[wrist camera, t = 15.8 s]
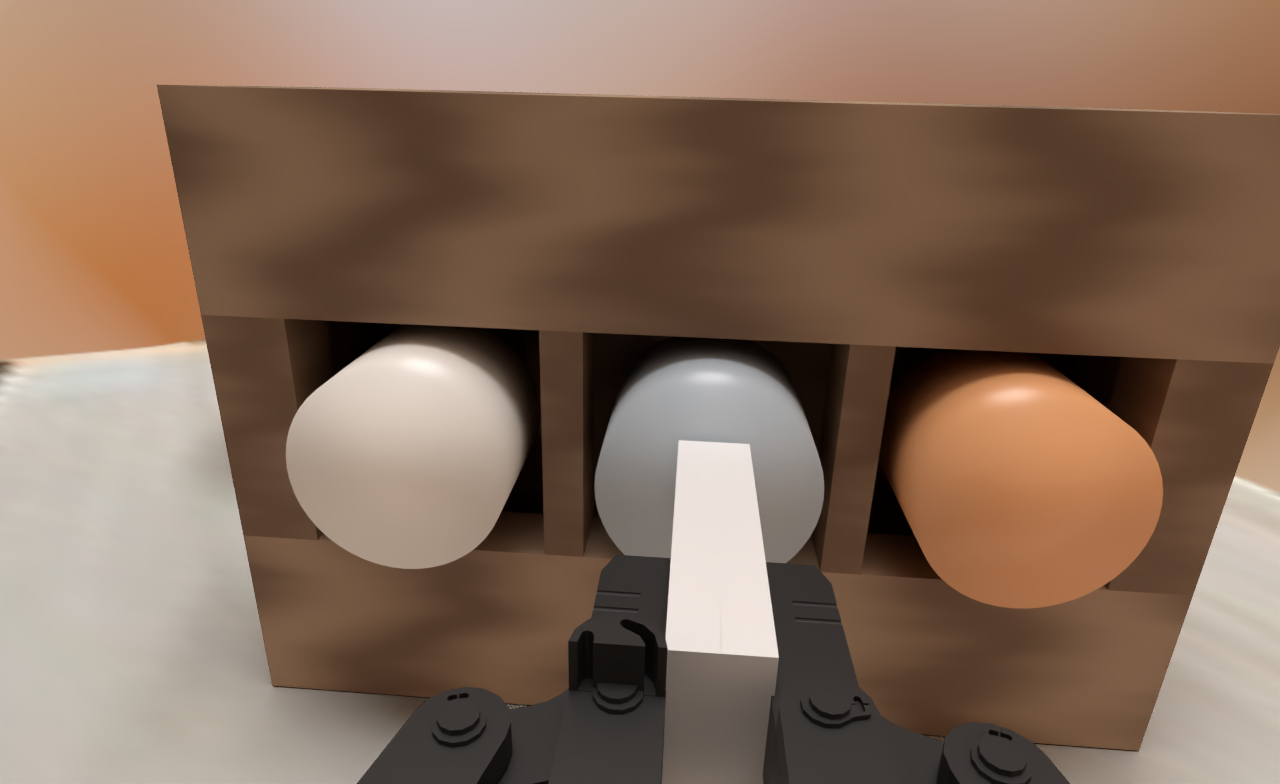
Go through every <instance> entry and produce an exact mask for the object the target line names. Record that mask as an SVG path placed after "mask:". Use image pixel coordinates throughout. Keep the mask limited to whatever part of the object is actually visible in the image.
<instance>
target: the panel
mask: <svg viewBox="0 0 1280 784" xmlns="http://www.w3.org/2000/svg"><path fill="white" fill-rule="evenodd" d="M157 88H158V94H159V99H160V104H161V109H162V114H163V120H164V125H165V130H166V135H167V139H168V146H169V151H170V155H171V161H172V166H173V171H174V177H175V182H176V187H177V192H178V197H179V203H180V208H181V213H182V218H183V223H184V229H185V233H186V239H187V244H188V249H189V255H190V260H191V265H192V270H193V275H194V280H195V286H196V291H197V296H198V301H199V306H200V312H201V317H202V322H203V327H204V332H205V338H206V343H207V348H208V353H209V358H210V364H211V369H212V374H213V379H214V384H215V390H216V395H217V400H218V405H219V410H220V416H221V421H222V426H223V431H224V436H225V441H226V447H227V452H228V457H229V462H230V467H231V473H232V478H233V483H234V488H235V493H236V499H237V504H238V509H239V514H240V519H241V525H242V530H243V535H244V540H245V545H246V551H247V556H248V561H249V566H250V571H251V576H252V582H253V587H254V592H255V597H256V602H257V608H258V613H259V618H260V623H261V628H262V634H263V639H264V644H265V649H266V654H267V660H268V665H269V670H270V675H271V680H272V686H284V687H298V688H311V689H324V690H338V691H351V692H364V693H378V694H391V695H404V696H418V697H433V696H435V695H438V694H440V693H442V692H444V691H446V690H451V689H456V688H462V687H472V688H482V689H486V690H488V691H490V692H492V693H494V694H496V695H499V696H500V697H501V699H502V700H503V701H504V702H505V703H511V704H524V705H535V704H539V703H543V702H546V701H548V700H550V699H552V698H554V697H556V696H559V695H560V694H561V693H563V692H564V691H565V690H566V689H568V688H569V667H568V641H569V639H570V637H571V635H572V633H573V631H574V630H575V628H577V627H578V626H579V625H581V624H582V623H584V622H585V621H586V620H588V619H591V617H592V612H593V609H594V602H595V598H596V594H597V588H598V583H599V579H600V574H601V570H602V569H603V568H604V567H605V566H606V565H607V564H608V563H609V562H610V561H611V560H612V559H613V558H614V557H615V555H624V554H623V553H622V551H621V550H620V549H619V548H618V547H617V546H616V545H615V543H614V542H613V541H612V539H611V538H610V536H609V535H608V533H607V531H606V529H605V527H604V526H603V524H602V521H601V518H600V515H599V513H598V509H597V504H596V500H595V487H594V485H595V473H596V468H597V464H598V460H599V456H600V452H601V449H602V445H603V442H604V438H605V434H606V431H607V427H608V424H609V420H610V417H611V413H612V409H613V406H614V402H615V399H616V395H617V392H618V389H619V387H620V384H621V382H622V380H623V378H624V376H625V374H626V373H627V371H628V370H629V368H630V367H631V366H632V365H633V363H634V362H635V361H636V360H637V359H638V358H639V357H640V356H641V355H642V354H643V353H644V352H646V351H647V350H648V349H650V348H651V347H652V346H654V345H656V344H657V343H659V342H661V341H663V340H665V339H667V338H670V337H672V336H675V337H697V338H719V339H741V340H752V341H754V342H756V343H758V344H760V345H761V346H763V347H764V348H766V349H767V350H768V351H770V352H771V353H772V354H773V355H774V356H775V357H776V358H777V359H778V360H779V361H780V362H781V363H782V364H783V366H784V367H785V368H786V369H787V371H788V373H789V374H790V376H791V378H792V379H793V381H794V384H795V386H796V389H797V391H798V394H799V397H800V400H801V403H802V406H803V409H804V412H805V416H806V419H807V422H808V425H809V428H810V431H811V434H812V437H813V440H814V443H815V446H816V449H817V452H818V455H819V458H820V462H821V466H822V470H823V476H824V500H823V505H822V510H821V514H820V517H819V519H818V522H817V525H816V527H815V529H814V530H813V532H812V534H811V536H810V538H809V539H808V540H807V542H806V543H805V544H804V546H803V547H802V548H801V549H800V550H799V551H798V553H797V554H796V555H795V556H794V557H793V558H792V559H790V560H789V561H788V562H787V564H803V565H815V566H816V567H817V568H818V569H819V570H820V571H821V572H822V574H823V575H824V576H825V577H826V578H827V579H828V580H829V581H830V582H831V584H832V587H833V591H834V595H835V598H836V602H837V608H838V610H839V614H840V617H841V624H842V625H843V629H844V632H845V636H846V640H847V644H848V647H849V651H850V655H851V659H852V663H853V666H854V670H855V674H856V678H857V681H858V685H859V688H861V689H862V690H863V691H864V692H865V693H866V694H867V695H868V696H870V697H871V698H872V700H873V702H874V704H875V706H876V707H877V709H878V711H879V713H880V715H881V716H882V717H884V718H886V719H887V720H889V721H890V722H892V723H894V724H895V725H897V726H900V727H902V728H904V729H907V730H909V731H912V732H915V733H918V734H923V735H937V736H947V735H948V734H949V733H950V732H951V731H952V729H953V728H954V727H957V726H960V725H963V724H966V723H970V722H973V723H991V724H994V725H997V726H1000V727H1004V728H1007V729H1010V730H1012V731H1014V732H1016V733H1018V734H1019V735H1021V736H1023V737H1024V738H1026V739H1028V740H1030V741H1031V742H1033V743H1043V744H1056V745H1070V746H1083V747H1096V748H1110V749H1123V750H1136V751H1139V748H1140V746H1141V743H1142V740H1143V737H1144V734H1145V731H1146V728H1147V725H1148V723H1149V720H1150V717H1151V714H1152V711H1153V708H1154V705H1155V703H1156V700H1157V697H1158V694H1159V691H1160V688H1161V685H1162V682H1163V680H1164V677H1165V674H1166V671H1167V668H1168V665H1169V662H1170V659H1171V657H1172V654H1173V651H1174V648H1175V645H1176V642H1177V639H1178V637H1179V634H1180V631H1181V628H1182V625H1183V622H1184V619H1185V616H1186V614H1187V611H1188V608H1189V605H1190V602H1191V599H1192V596H1193V594H1194V591H1195V588H1196V585H1197V582H1198V579H1199V576H1200V573H1201V571H1202V568H1203V565H1204V562H1205V559H1206V556H1207V553H1208V550H1209V548H1210V545H1211V542H1212V539H1213V536H1214V533H1215V530H1216V528H1217V525H1218V522H1219V519H1220V516H1221V513H1222V510H1223V507H1224V505H1225V502H1226V499H1227V496H1228V493H1229V490H1230V487H1231V485H1232V482H1233V479H1234V476H1235V473H1236V470H1237V467H1238V464H1239V462H1240V459H1241V456H1242V453H1243V450H1244V447H1245V444H1246V441H1247V439H1248V436H1249V433H1250V430H1251V427H1252V424H1253V421H1254V418H1255V416H1256V413H1257V410H1258V407H1259V404H1260V401H1261V398H1262V396H1263V393H1264V390H1265V387H1266V384H1267V381H1268V378H1269V375H1270V372H1271V370H1272V367H1273V364H1274V361H1275V358H1276V355H1277V353H1278V350H1279V347H1280V114H1257V113H1227V112H1201V111H1171V110H1144V109H1116V108H1083V107H1046V106H1042V107H1041V106H1006V105H971V104H970V105H969V104H934V103H933V104H932V103H896V102H859V101H858V102H856V101H820V100H784V99H746V98H745V99H744V98H709V97H671V96H670V97H669V96H634V95H593V94H559V93H522V92H519V93H518V92H484V91H445V90H410V89H409V90H408V89H372V88H370V89H369V88H321V87H320V88H318V87H260V86H199V85H157ZM405 324H412V325H434V326H456V327H478V328H500V329H512V330H513V331H514V332H515V333H516V334H517V335H518V336H519V338H520V339H521V341H522V343H523V345H524V348H525V351H526V367H527V369H528V371H529V373H530V374H531V376H532V378H533V381H534V384H535V386H536V389H537V393H538V397H539V404H540V423H539V428H538V433H537V436H536V439H535V442H534V444H533V446H532V448H531V450H530V453H529V455H528V457H527V459H526V461H525V463H524V465H523V467H522V469H521V471H520V474H519V476H518V478H517V480H516V482H515V484H514V486H513V488H512V490H511V492H510V495H509V497H508V499H507V501H506V503H505V505H504V507H503V509H502V511H501V513H500V516H499V518H498V520H497V521H496V523H495V525H494V527H493V529H492V530H491V532H490V533H489V534H488V536H487V537H486V538H485V539H484V540H483V541H482V542H481V543H480V544H479V545H478V546H477V547H476V548H475V549H473V550H472V551H471V552H469V553H468V554H466V555H465V556H463V557H461V558H459V559H457V560H455V561H452V562H450V563H447V564H444V565H440V566H436V567H431V568H422V569H402V568H394V567H388V566H384V565H380V564H376V563H373V562H370V561H368V560H365V559H362V558H360V557H358V556H356V555H354V554H352V553H350V552H348V551H347V550H345V549H343V548H342V547H340V546H339V545H337V544H336V543H335V542H333V541H332V540H331V539H329V538H328V537H327V536H326V535H325V534H324V533H323V532H322V531H321V530H320V529H318V528H317V526H316V525H315V524H314V523H313V522H312V521H311V519H310V518H309V517H308V516H307V514H306V513H305V511H304V510H303V508H302V507H301V505H300V503H299V501H298V499H297V498H296V496H295V494H294V491H293V488H292V486H291V483H290V480H289V475H288V471H287V465H286V442H287V437H288V432H289V429H290V426H291V423H292V421H293V418H294V416H295V415H296V413H297V411H298V409H299V408H300V406H301V405H302V404H303V403H304V401H305V400H306V399H307V398H308V397H309V396H310V395H311V394H312V393H313V392H314V391H315V390H317V389H318V388H319V387H320V386H322V385H323V384H324V383H325V382H327V381H328V380H329V379H331V378H332V377H333V376H335V375H336V374H337V373H338V372H340V371H341V370H342V369H344V368H345V367H346V366H348V365H349V364H350V363H351V362H353V361H354V360H355V359H357V358H358V357H359V356H361V355H362V354H363V353H364V352H366V351H367V350H368V349H370V348H371V347H372V346H374V345H375V344H376V343H377V342H379V341H380V340H381V339H383V338H384V337H385V336H386V335H388V334H389V333H391V332H392V331H394V330H395V329H397V328H399V327H401V326H403V325H405ZM909 347H917V348H939V349H961V350H983V351H1005V352H1027V353H1034V354H1036V355H1038V356H1039V357H1041V358H1043V359H1044V360H1045V361H1047V362H1048V363H1049V364H1050V365H1052V366H1053V367H1054V368H1056V369H1057V370H1058V371H1059V372H1061V373H1062V374H1063V375H1065V376H1066V377H1067V378H1069V379H1070V380H1071V381H1072V382H1074V383H1075V384H1076V385H1078V386H1079V387H1080V388H1081V389H1083V390H1084V391H1085V392H1087V393H1088V394H1089V395H1091V396H1092V397H1093V398H1094V399H1096V400H1097V401H1098V402H1100V403H1101V404H1102V405H1103V406H1105V407H1106V408H1107V409H1109V410H1110V411H1111V412H1112V413H1114V414H1115V415H1116V416H1118V417H1119V418H1120V419H1122V420H1123V421H1124V422H1125V423H1127V424H1128V425H1129V426H1131V427H1132V428H1133V429H1134V430H1136V431H1137V432H1138V433H1139V435H1140V436H1141V437H1142V438H1143V439H1144V440H1145V441H1146V442H1147V444H1148V445H1149V447H1150V448H1151V450H1152V451H1153V453H1154V455H1155V458H1156V460H1157V462H1158V464H1159V468H1160V472H1161V476H1162V483H1163V500H1162V508H1161V512H1160V516H1159V520H1158V522H1157V525H1156V527H1155V530H1154V532H1153V534H1152V536H1151V537H1150V539H1149V541H1148V543H1147V545H1146V546H1145V547H1144V549H1143V550H1142V551H1141V553H1140V554H1139V555H1138V557H1137V558H1136V559H1135V560H1134V561H1133V562H1132V563H1131V564H1130V565H1129V566H1128V567H1127V568H1126V569H1125V570H1124V571H1123V572H1121V573H1120V574H1119V575H1118V576H1117V577H1115V578H1114V579H1112V580H1111V581H1110V582H1108V583H1107V584H1105V585H1104V586H1102V587H1100V588H1098V589H1096V590H1095V591H1093V592H1091V593H1089V594H1087V595H1084V596H1082V597H1079V598H1077V599H1075V600H1071V601H1068V602H1065V603H1061V604H1057V605H1052V606H1047V607H1040V608H1029V609H1022V608H1006V607H998V606H994V605H989V604H985V603H982V602H979V601H977V600H974V599H971V598H969V597H967V596H965V595H963V594H961V593H959V592H958V591H957V590H955V589H954V588H952V587H951V586H949V585H948V584H947V583H946V582H945V581H944V580H942V579H941V578H940V577H939V576H938V575H937V573H936V572H935V571H934V570H933V568H932V567H931V566H930V564H929V562H928V561H927V559H926V557H925V556H924V554H923V551H922V549H921V547H920V545H919V543H918V541H917V539H916V537H915V535H914V533H913V531H912V529H911V527H910V525H909V523H908V521H907V519H906V516H905V514H904V512H903V510H902V508H901V506H900V504H899V502H898V500H897V498H896V496H895V494H894V492H893V490H892V488H891V486H890V483H889V481H888V479H887V477H886V475H885V473H884V471H883V468H882V466H881V463H880V460H879V453H880V446H881V440H882V433H883V427H884V420H885V414H886V408H887V401H888V398H889V397H890V395H891V394H892V391H891V387H890V382H891V375H892V369H893V365H894V363H895V361H896V360H897V358H898V357H899V356H900V355H901V354H902V353H903V352H904V351H905V350H906V349H908V348H909Z"/></svg>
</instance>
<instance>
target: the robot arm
mask: <svg viewBox="0 0 1280 784" xmlns="http://www.w3.org/2000/svg"><path fill="white" fill-rule="evenodd" d="M568 667H569V688H568V689H566V690H565V691H564V692H563V693H561V694H560V695H559V696H556V697H554V698H552V699H550V700H548V701H546V702H543V703H539V704H535V705H532V706H526V707H521V708H516V709H510V710H509V707H508V706H507V705H506V703H505V702H504V701H503V700H502V699H501V697H500V696H499V695H496V694H494V693H492V692H490V691H488V690H486V689H482V688H472V687H462V688H456V689H451V690H446V691H444V692H442V693H440V694H438V695H435V696H433V697H431V698H429V699H428V700H427V701H426V702H424V703H423V704H422V705H421V706H420V707H419V708H418V709H417V710H416V711H415V712H414V713H413V714H412V715H411V717H410V718H409V719H408V720H407V722H406V723H405V724H404V725H403V727H402V728H401V729H400V730H399V732H398V733H397V734H396V735H395V737H394V738H393V739H392V740H391V742H390V743H389V744H388V745H387V747H386V748H385V749H384V750H383V752H382V753H381V754H380V755H379V757H378V758H377V759H376V760H375V762H374V763H373V764H372V765H371V767H370V768H369V769H368V770H367V772H366V773H365V774H364V775H363V777H362V778H361V779H360V780H359V782H358V783H357V784H1070V783H1069V782H1068V781H1067V780H1066V779H1065V777H1064V776H1063V775H1062V774H1061V772H1060V771H1059V770H1058V769H1057V767H1056V766H1055V765H1054V764H1053V762H1052V761H1051V760H1050V759H1049V758H1048V757H1047V756H1046V755H1045V754H1044V753H1043V752H1042V751H1041V750H1040V749H1039V748H1038V747H1037V746H1036V745H1035V744H1034V743H1033V742H1031V741H1030V740H1028V739H1026V738H1024V737H1023V736H1021V735H1019V734H1018V733H1016V732H1014V731H1012V730H1010V729H1007V728H1004V727H1000V726H997V725H994V724H991V723H973V722H970V723H966V724H963V725H960V726H957V727H954V728H953V729H952V731H951V732H950V733H949V734H948V735H947V736H946V737H945V740H944V742H942V741H939V740H936V739H933V738H930V737H927V736H924V735H921V734H918V733H915V732H912V731H909V730H907V729H904V728H902V727H900V726H897V725H895V724H894V723H892V722H890V721H889V720H887V719H886V718H884V717H882V716H881V715H880V713H879V711H878V709H877V707H876V706H875V704H874V702H873V700H872V698H871V697H870V696H868V695H867V694H866V693H865V692H864V691H863V690H862V689H861V688H859V685H858V681H857V678H856V674H855V670H854V666H853V663H852V659H851V655H850V651H849V647H848V644H847V640H846V636H845V632H844V629H843V625H842V624H841V617H840V614H839V610H838V608H837V602H836V598H835V595H834V591H833V587H832V584H831V582H830V581H829V580H828V579H827V578H826V577H825V576H824V575H823V574H822V572H821V571H820V570H819V569H818V568H817V567H816V566H815V565H803V564H787V563H772V562H766V560H765V553H764V546H763V538H762V531H761V524H760V517H759V509H758V502H757V495H756V487H755V480H754V473H753V465H752V458H751V451H750V444H740V443H721V442H703V441H684V440H679V443H678V458H677V473H676V488H675V503H674V518H673V533H672V548H671V558H660V557H644V556H629V555H615V557H614V558H613V559H612V560H611V561H610V562H609V563H608V564H607V565H606V566H605V567H604V568H603V569H602V570H601V574H600V579H599V583H598V588H597V594H596V598H595V602H594V609H593V612H592V617H591V619H588V620H586V621H585V622H584V623H582V624H581V625H579V626H578V627H577V628H575V630H574V631H573V633H572V635H571V637H570V639H569V641H568Z"/></svg>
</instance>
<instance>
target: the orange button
mask: <svg viewBox="0 0 1280 784" xmlns="http://www.w3.org/2000/svg"><path fill="white" fill-rule="evenodd" d="M890 387H891V391H892V394H891V395H890V397H889V398H888V401H887V408H886V414H885V420H884V427H883V433H882V440H881V446H880V453H879V460H880V463H881V466H882V468H883V471H884V473H885V475H886V477H887V479H888V481H889V483H890V486H891V488H892V490H893V492H894V494H895V496H896V498H897V500H898V502H899V504H900V506H901V508H902V510H903V512H904V514H905V516H906V519H907V521H908V523H909V525H910V527H911V529H912V531H913V533H914V535H915V537H916V539H917V541H918V543H919V545H920V547H921V549H922V551H923V554H924V556H925V557H926V559H927V561H928V562H929V564H930V566H931V567H932V568H933V570H934V571H935V572H936V573H937V575H938V576H939V577H940V578H941V579H942V580H944V581H945V582H946V583H947V584H948V585H949V586H951V587H952V588H954V589H955V590H957V591H958V592H959V593H961V594H963V595H965V596H967V597H969V598H971V599H974V600H977V601H979V602H982V603H985V604H989V605H994V606H998V607H1006V608H1022V609H1029V608H1040V607H1047V606H1052V605H1057V604H1061V603H1065V602H1068V601H1071V600H1075V599H1077V598H1079V597H1082V596H1084V595H1087V594H1089V593H1091V592H1093V591H1095V590H1096V589H1098V588H1100V587H1102V586H1104V585H1105V584H1107V583H1108V582H1110V581H1111V580H1112V579H1114V578H1115V577H1117V576H1118V575H1119V574H1120V573H1121V572H1123V571H1124V570H1125V569H1126V568H1127V567H1128V566H1129V565H1130V564H1131V563H1132V562H1133V561H1134V560H1135V559H1136V558H1137V557H1138V555H1139V554H1140V553H1141V551H1142V550H1143V549H1144V547H1145V546H1146V545H1147V543H1148V541H1149V539H1150V537H1151V536H1152V534H1153V532H1154V530H1155V527H1156V525H1157V522H1158V520H1159V516H1160V512H1161V508H1162V500H1163V483H1162V476H1161V472H1160V468H1159V464H1158V462H1157V460H1156V458H1155V455H1154V453H1153V451H1152V450H1151V448H1150V447H1149V445H1148V444H1147V442H1146V441H1145V440H1144V439H1143V438H1142V437H1141V436H1140V435H1139V433H1138V432H1137V431H1136V430H1134V429H1133V428H1132V427H1131V426H1129V425H1128V424H1127V423H1125V422H1124V421H1123V420H1122V419H1120V418H1119V417H1118V416H1116V415H1115V414H1114V413H1112V412H1111V411H1110V410H1109V409H1107V408H1106V407H1105V406H1103V405H1102V404H1101V403H1100V402H1098V401H1097V400H1096V399H1094V398H1093V397H1092V396H1091V395H1089V394H1088V393H1087V392H1085V391H1084V390H1083V389H1081V388H1080V387H1079V386H1078V385H1076V384H1075V383H1074V382H1072V381H1071V380H1070V379H1069V378H1067V377H1066V376H1065V375H1063V374H1062V373H1061V372H1059V371H1058V370H1057V369H1056V368H1054V367H1053V366H1052V365H1050V364H1049V363H1048V362H1047V361H1045V360H1044V359H1043V358H1041V357H1039V356H1038V355H1036V354H1034V353H1027V352H1005V351H983V350H961V349H939V348H917V347H909V348H908V349H906V350H905V351H904V352H903V353H902V354H901V355H900V356H899V357H898V358H897V360H896V361H895V363H894V365H893V369H892V375H891V382H890Z"/></svg>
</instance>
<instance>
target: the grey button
mask: <svg viewBox="0 0 1280 784" xmlns="http://www.w3.org/2000/svg"><path fill="white" fill-rule="evenodd" d="M679 440H684V441H703V442H721V443H740V444H750V451H751V458H752V465H753V473H754V480H755V487H756V495H757V502H758V509H759V517H760V524H761V531H762V538H763V546H764V553H765V560H766V562H772V563H787V562H788V561H789V560H790V559H792V558H793V557H794V556H795V555H796V554H797V553H798V551H799V550H800V549H801V548H802V547H803V546H804V544H805V543H806V542H807V540H808V539H809V538H810V536H811V534H812V532H813V530H814V529H815V527H816V525H817V522H818V519H819V517H820V514H821V510H822V505H823V500H824V476H823V470H822V466H821V462H820V458H819V455H818V452H817V449H816V446H815V443H814V440H813V437H812V434H811V431H810V428H809V425H808V422H807V419H806V416H805V412H804V409H803V406H802V403H801V400H800V397H799V394H798V391H797V389H796V386H795V384H794V381H793V379H792V378H791V376H790V374H789V373H788V371H787V369H786V368H785V367H784V366H783V364H782V363H781V362H780V361H779V360H778V359H777V358H776V357H775V356H774V355H773V354H772V353H771V352H770V351H768V350H767V349H766V348H764V347H763V346H761V345H760V344H758V343H756V342H754V341H752V340H741V339H719V338H697V337H675V336H672V337H670V338H667V339H665V340H663V341H661V342H659V343H657V344H656V345H654V346H652V347H651V348H650V349H648V350H647V351H646V352H644V353H643V354H642V355H641V356H640V357H639V358H638V359H637V360H636V361H635V362H634V363H633V365H632V366H631V367H630V368H629V370H628V371H627V373H626V374H625V376H624V378H623V380H622V382H621V384H620V387H619V389H618V392H617V395H616V399H615V402H614V406H613V409H612V413H611V417H610V420H609V424H608V427H607V431H606V434H605V438H604V442H603V445H602V449H601V452H600V456H599V460H598V464H597V468H596V473H595V485H594V487H595V500H596V504H597V509H598V513H599V515H600V518H601V521H602V524H603V526H604V527H605V529H606V531H607V533H608V535H609V536H610V538H611V539H612V541H613V542H614V543H615V545H616V546H617V547H618V548H619V549H620V550H621V551H622V553H623V554H624V555H629V556H644V557H660V558H671V548H672V533H673V518H674V503H675V488H676V473H677V458H678V443H679Z"/></svg>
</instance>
